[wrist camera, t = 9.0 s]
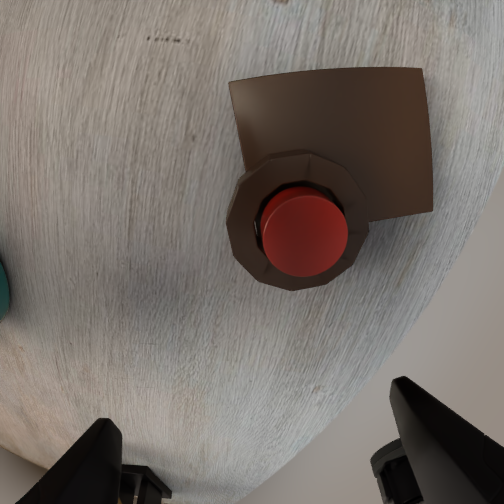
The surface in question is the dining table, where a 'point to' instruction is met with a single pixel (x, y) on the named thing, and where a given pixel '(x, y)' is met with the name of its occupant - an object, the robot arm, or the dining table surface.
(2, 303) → the cup
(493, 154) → the dining table surface
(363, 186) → the button block
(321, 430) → the dining table surface
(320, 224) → the button
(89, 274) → the dining table surface
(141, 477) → the switch bracket
